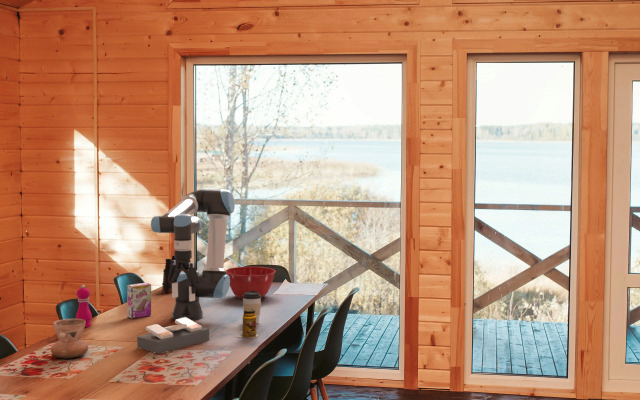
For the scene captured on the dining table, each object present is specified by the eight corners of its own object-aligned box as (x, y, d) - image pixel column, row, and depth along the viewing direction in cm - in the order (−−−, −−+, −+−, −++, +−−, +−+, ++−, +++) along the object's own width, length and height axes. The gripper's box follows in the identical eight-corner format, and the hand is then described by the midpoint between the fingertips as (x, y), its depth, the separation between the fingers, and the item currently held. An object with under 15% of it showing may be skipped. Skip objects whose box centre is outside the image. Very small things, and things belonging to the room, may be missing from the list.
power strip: (137, 348, 308) (137, 335, 308) (193, 333, 332) (193, 321, 332) (158, 354, 300) (158, 340, 299) (214, 338, 324) (214, 326, 323)
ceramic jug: (79, 362, 288) (79, 326, 287) (43, 361, 289) (43, 325, 288) (95, 350, 306) (95, 317, 305) (61, 349, 307) (61, 316, 306)
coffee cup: (258, 325, 348) (258, 294, 347) (240, 324, 350) (239, 293, 349) (263, 320, 357) (263, 290, 356) (245, 320, 359) (245, 289, 358)
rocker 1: (144, 331, 309) (145, 326, 309) (156, 328, 314) (157, 323, 314) (161, 341, 303) (161, 336, 302) (173, 338, 308) (173, 333, 307)
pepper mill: (95, 325, 347) (94, 284, 345) (84, 328, 340) (83, 286, 339) (83, 323, 350) (82, 282, 348) (72, 327, 343) (71, 285, 342)
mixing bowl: (285, 295, 417) (285, 269, 416) (254, 305, 393) (254, 276, 392) (246, 290, 432) (246, 264, 431) (214, 299, 408) (214, 271, 407)
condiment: (253, 338, 324) (253, 312, 323) (235, 337, 327) (235, 310, 326) (259, 334, 331) (259, 308, 330) (242, 333, 334) (242, 307, 333)
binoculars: (173, 294, 421) (172, 259, 420) (159, 293, 422) (159, 259, 421) (183, 288, 439) (183, 255, 438) (170, 287, 440) (170, 254, 439)
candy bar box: (132, 319, 359) (131, 286, 358) (126, 317, 363) (126, 285, 362) (151, 315, 367) (151, 283, 366) (146, 314, 371) (146, 282, 370)
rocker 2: (160, 333, 315) (159, 328, 316) (171, 330, 320) (171, 325, 320) (176, 331, 308) (175, 326, 309) (188, 329, 313) (187, 323, 314)
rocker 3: (174, 324, 322) (175, 319, 321) (185, 321, 327) (186, 316, 326) (190, 333, 315) (191, 328, 315) (201, 331, 320) (202, 326, 319)
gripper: (159, 248, 324) (159, 297, 326) (194, 253, 310) (194, 304, 311) (172, 246, 330) (173, 294, 332) (207, 251, 316) (207, 301, 317)
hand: (183, 299), depth 322 cm, fingers open, 11 cm apart
